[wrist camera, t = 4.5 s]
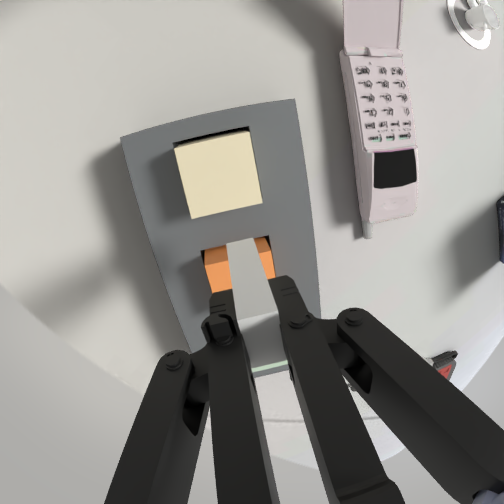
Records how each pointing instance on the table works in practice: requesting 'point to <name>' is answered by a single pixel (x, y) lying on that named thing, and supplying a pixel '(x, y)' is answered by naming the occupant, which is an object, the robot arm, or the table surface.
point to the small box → (501, 226)
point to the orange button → (220, 265)
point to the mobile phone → (379, 111)
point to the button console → (228, 222)
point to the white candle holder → (476, 21)
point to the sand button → (218, 173)
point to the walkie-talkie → (441, 364)
